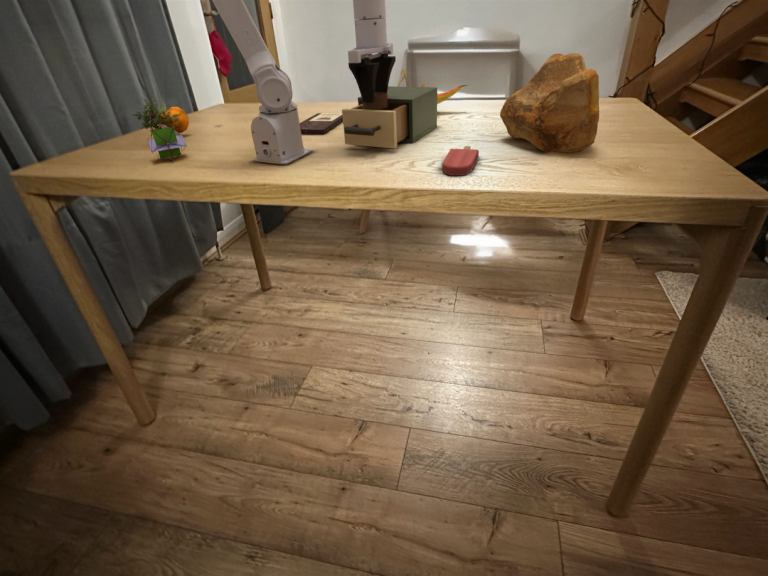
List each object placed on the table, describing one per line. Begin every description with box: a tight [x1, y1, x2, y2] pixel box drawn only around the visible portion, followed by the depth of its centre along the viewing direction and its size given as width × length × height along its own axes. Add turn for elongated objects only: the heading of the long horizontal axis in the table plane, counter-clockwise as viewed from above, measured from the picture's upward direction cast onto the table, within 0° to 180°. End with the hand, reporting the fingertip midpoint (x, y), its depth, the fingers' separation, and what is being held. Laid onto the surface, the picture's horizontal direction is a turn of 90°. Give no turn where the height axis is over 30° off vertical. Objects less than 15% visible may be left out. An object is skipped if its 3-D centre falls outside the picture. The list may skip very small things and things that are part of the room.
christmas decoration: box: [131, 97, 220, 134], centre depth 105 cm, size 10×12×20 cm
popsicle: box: [441, 145, 480, 176], centre depth 78 cm, size 5×2×15 cm
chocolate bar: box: [299, 112, 343, 135], centre depth 109 cm, size 9×1×18 cm
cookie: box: [363, 92, 388, 110], centre depth 85 cm, size 5×5×2 cm
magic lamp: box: [397, 69, 469, 105], centre depth 111 cm, size 7×18×11 cm, turn 82°
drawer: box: [341, 103, 409, 149], centre depth 88 cm, size 18×11×7 cm, turn 154°
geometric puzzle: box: [146, 125, 187, 162], centre depth 88 cm, size 7×7×8 cm
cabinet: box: [357, 85, 438, 144], centre depth 96 cm, size 15×13×9 cm
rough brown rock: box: [499, 52, 600, 153], centre depth 83 cm, size 23×17×15 cm
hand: (374, 99), depth 85 cm, fingers closed on cookie, 5 cm apart
